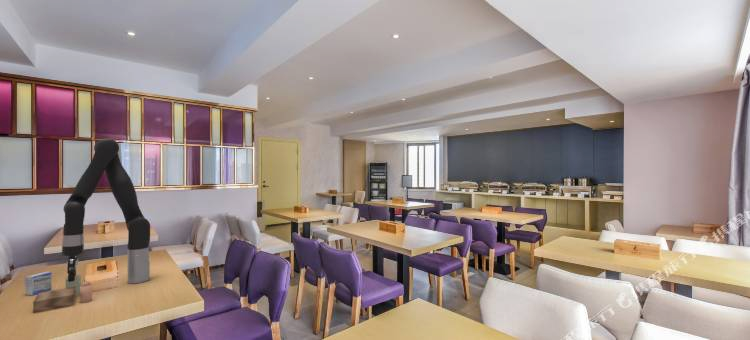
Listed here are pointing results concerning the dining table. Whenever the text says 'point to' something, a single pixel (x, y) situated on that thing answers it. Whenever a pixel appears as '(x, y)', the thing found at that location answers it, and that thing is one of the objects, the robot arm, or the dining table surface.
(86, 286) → the terracotta shaker
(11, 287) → the dining table surface
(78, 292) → the green block
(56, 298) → the walnut block
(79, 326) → the dining table surface
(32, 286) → the medicine box
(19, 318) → the dining table surface
